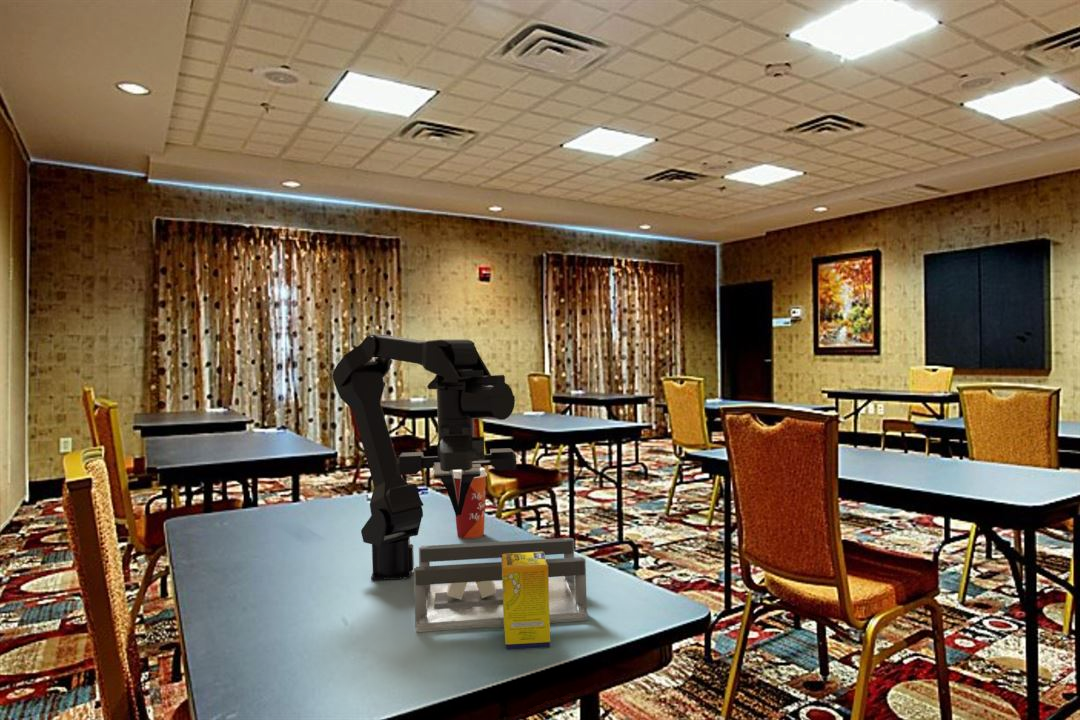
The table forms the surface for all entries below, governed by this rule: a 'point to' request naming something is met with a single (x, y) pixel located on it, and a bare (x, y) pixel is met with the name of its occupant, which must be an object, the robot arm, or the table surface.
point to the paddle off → (486, 588)
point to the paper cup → (471, 506)
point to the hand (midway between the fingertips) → (458, 515)
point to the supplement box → (525, 601)
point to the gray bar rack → (493, 565)
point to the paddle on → (456, 590)
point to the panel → (491, 607)
